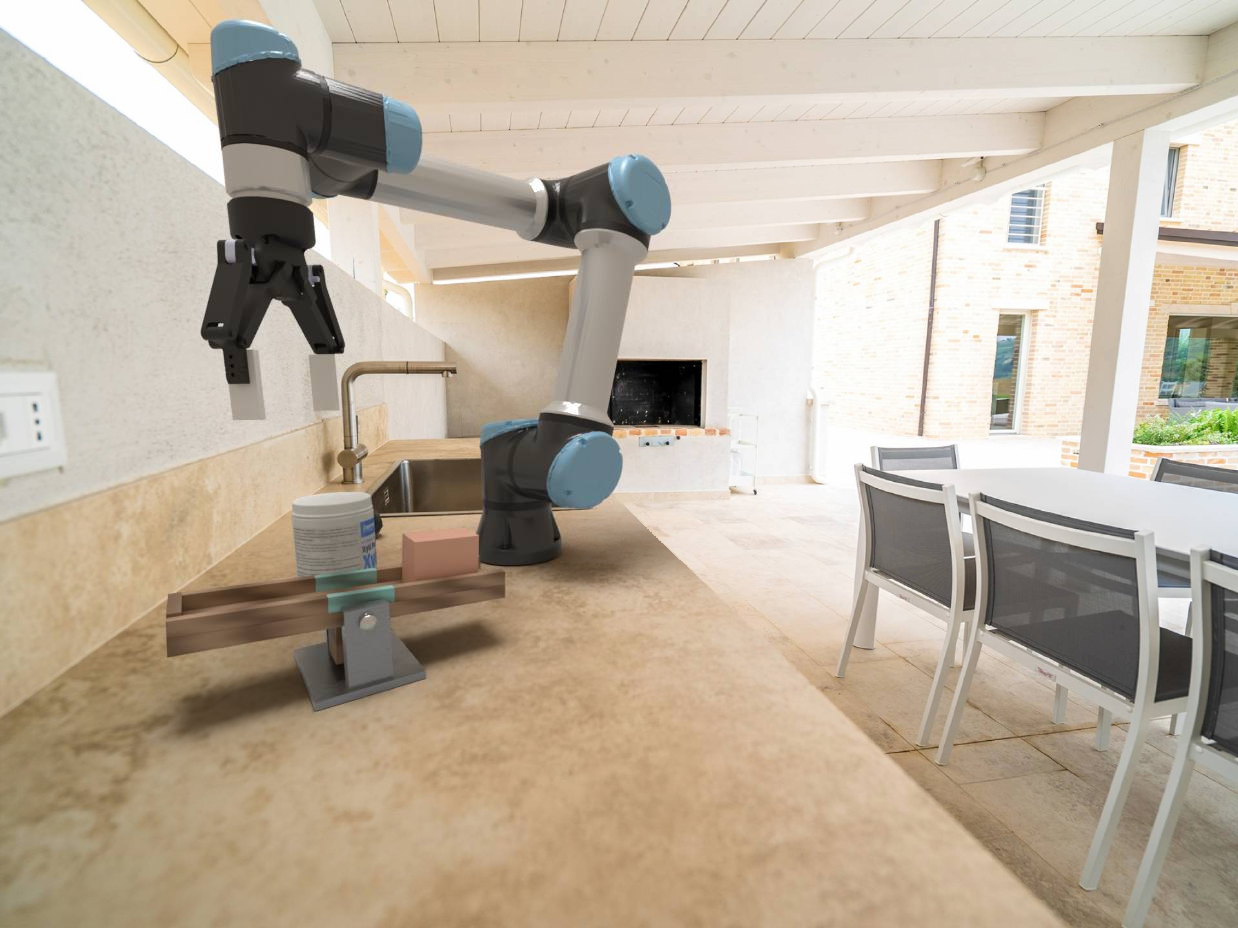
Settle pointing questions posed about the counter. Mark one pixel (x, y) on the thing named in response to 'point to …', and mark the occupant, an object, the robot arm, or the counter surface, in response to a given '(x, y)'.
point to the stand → (358, 658)
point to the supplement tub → (333, 533)
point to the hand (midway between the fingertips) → (292, 415)
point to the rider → (439, 554)
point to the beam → (310, 606)
